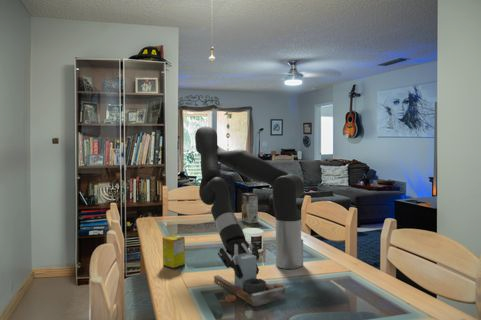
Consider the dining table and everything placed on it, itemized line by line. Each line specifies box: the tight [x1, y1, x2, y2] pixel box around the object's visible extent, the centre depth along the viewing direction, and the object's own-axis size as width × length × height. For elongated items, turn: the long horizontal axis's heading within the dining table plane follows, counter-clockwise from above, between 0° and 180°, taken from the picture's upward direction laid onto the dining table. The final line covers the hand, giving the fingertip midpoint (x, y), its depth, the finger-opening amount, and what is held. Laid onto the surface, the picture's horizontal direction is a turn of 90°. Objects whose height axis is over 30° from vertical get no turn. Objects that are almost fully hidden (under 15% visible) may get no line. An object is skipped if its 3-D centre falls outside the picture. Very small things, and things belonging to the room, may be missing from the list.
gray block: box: [234, 253, 258, 291], centre depth 122 cm, size 5×5×10 cm
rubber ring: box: [244, 278, 267, 295], centre depth 118 cm, size 6×6×4 cm
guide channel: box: [213, 275, 286, 307], centre depth 122 cm, size 20×24×3 cm
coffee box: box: [241, 192, 259, 224], centre depth 226 cm, size 9×6×16 cm
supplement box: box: [162, 234, 186, 270], centre depth 145 cm, size 6×6×11 cm
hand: (248, 275), depth 120 cm, fingers closed on gray block, 5 cm apart
